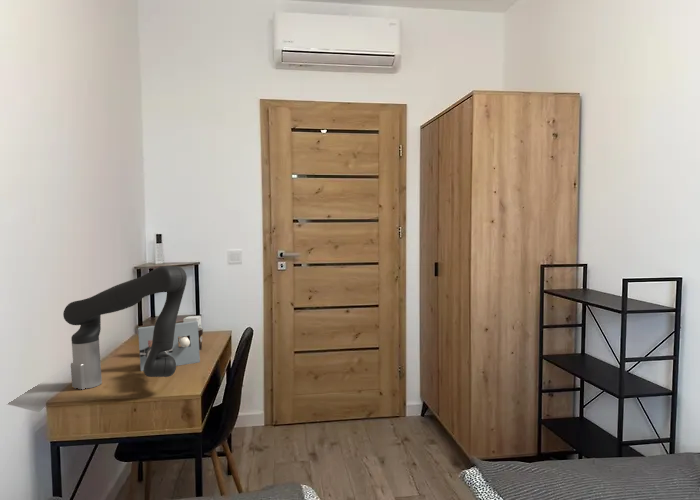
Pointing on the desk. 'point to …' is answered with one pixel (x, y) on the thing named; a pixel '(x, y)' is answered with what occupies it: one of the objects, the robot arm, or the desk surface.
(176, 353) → the panel
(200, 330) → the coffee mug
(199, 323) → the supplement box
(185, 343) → the cream button
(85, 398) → the desk surface
